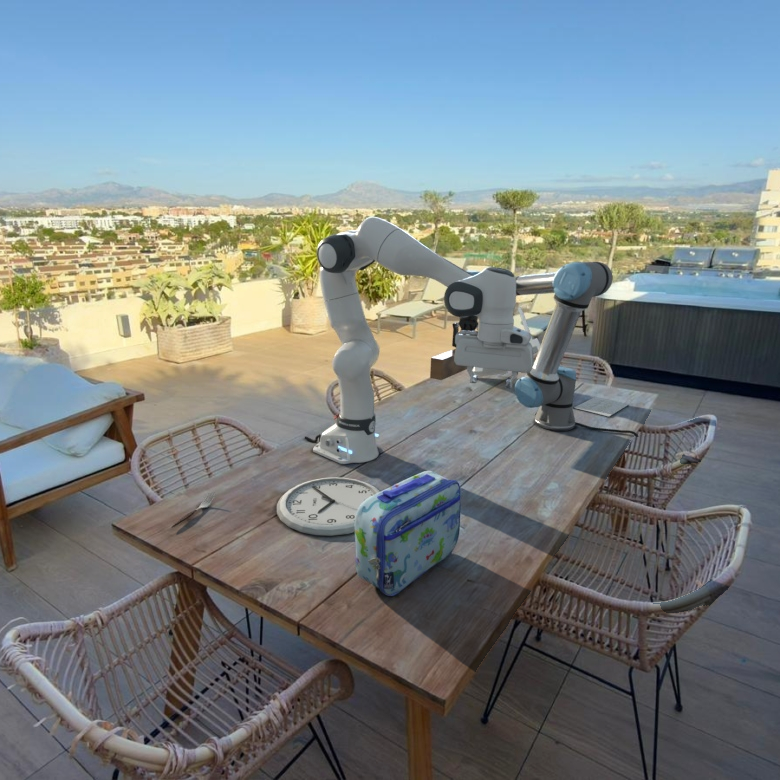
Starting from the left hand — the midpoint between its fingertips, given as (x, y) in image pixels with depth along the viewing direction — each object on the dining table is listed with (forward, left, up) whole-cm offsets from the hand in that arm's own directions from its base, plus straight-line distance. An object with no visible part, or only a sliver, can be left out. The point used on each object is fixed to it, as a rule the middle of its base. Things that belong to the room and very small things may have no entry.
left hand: (491, 384), depth 138 cm
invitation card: (+14, +104, -34) cm, 110 cm away
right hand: (-37, +72, -16) cm, 83 cm away
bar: (-38, +62, -16) cm, 74 cm away
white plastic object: (-32, +114, -34) cm, 123 cm away
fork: (-61, -49, -34) cm, 85 cm away
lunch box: (-2, -39, -34) cm, 52 cm away
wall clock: (-33, -26, -34) cm, 54 cm away
